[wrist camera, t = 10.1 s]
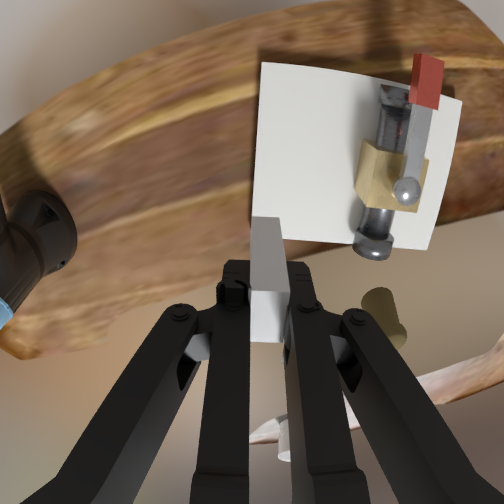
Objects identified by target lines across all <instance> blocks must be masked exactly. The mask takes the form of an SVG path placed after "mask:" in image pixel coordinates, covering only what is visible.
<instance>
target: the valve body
mask: <svg viewBox="0 0 504 504" xmlns="http://www.w3.org/2000/svg"><path fill="white" fill-rule="evenodd" d="M409 91H410V90H408V89H404V88H399V87H395V86H390V85H384V84H380V90H379V99H378V103H381V108H380V116H379V123H378V129H377V136H376V141H372V140H366V139H362V141H361V148H360V154H359V161H358V167H357V173H356V178H355V184H354V190H355V191H356V193H357V194H358V195H359V197H360V198H361V200H362V201H363V203H364V208H363V212H362V217H361V222H360V226H359V227H358V228H357V229H356V231H355V236H354V240H353V245H352V247H353V250H354V251H355V252H356V253H357V254H359V255H361V256H362V257H365V258H367V259H371V260H379V261H380V260H385V259H387V258H389V256H390V253H391V249H392V246H393V242H394V237H393V236H392V235H391V234H390V230H391V226H392V223H393V219H394V215H395V211H404V212H412V213H417V211H418V207H419V203H420V199H421V196H420V198H419V200H418V201H417V202H416V203H415V204H413V205H410V206H404V205H402V204H400V203H399V202H398V201H397V200H396V199H395V197H394V196H393V195H392V192H391V185H392V182H393V180H394V179H395V178H396V177H397V176H399V174H400V169H401V165H402V160H403V155H404V150H405V145H406V139H407V134H408V128H409V123H410V117H411V111H412V104H413V103H409V102H408V98H409ZM428 165H429V159H427V158H426V157H424V160H423V165H422V169H421V173H420V178H419V182H418V183H419V184H420V186H421V195H422V191H423V187H424V183H425V179H426V174H427V170H428Z"/></svg>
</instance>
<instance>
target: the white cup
mask: <svg viewBox="0 0 504 504" xmlns="http://www.w3.org/2000/svg"><path fill="white" fill-rule="evenodd" d="M278 458H279V459H281V460H283V461H291V460H290V443H289V427H288V419H285V420H283V421H282V422H281V423H280V432H279V445H278Z"/></svg>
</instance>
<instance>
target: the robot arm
mask: <svg viewBox="0 0 504 504" xmlns="http://www.w3.org/2000/svg"><path fill="white" fill-rule="evenodd" d="M76 247H77V233H76V228H75V225H74V222H73V220H72V218H71V216H70V214H69V212H68V211H67V209H66V208H65V207H64V205H63V204H62V203H61V202H60V201H59V200H58V199H56V198H55V197H54V196H52V195H50V194H49V193H46V192H43V191H39V190H33V191H29V192H27V193H25V194H23V195H22V196H21V197H19V198H18V199H17V200H16V201H15V202H14V203H13V204H12V206H11V208H10V209H9V211H8V213H7V214H5V210H4V207H3V203H2V199H1V195H0V329H1V328H2V327H3V326H4V325H5V324H6V323H7V321H8V320H9V319H11V318H12V317H13V314H14V313H15V312H16V310H17V309H18V308H19V306H20V305H21V304H22V302H23V301H24V300H25V298H26V297H27V296H28V294H29V293H30V292H31V291H32V289H33V288H34V287H35V286H36V284H37V283H38V282H39V281H40V280H41V278H43V277H45V276H47V275H49V274H51V273H53V272H55V271H58V270H60V269H61V268H63V267H64V266H65V265H66V264H67V263H68V262H69V261H70V259H71V258H72V257H73V255H74V253H75V251H76ZM216 298H217V303H216V305H214V306H213V307H211V308H209V309H205V310H201V311H197V310H196V309H195V308H194V307H193V306H191V305H188V304H182V303H180V304H174V305H172V306H170V307H168V308H167V309H166V310H165V311H164V312H163V314H162V315H161V317H160V318H159V320H158V321H157V322H156V324H155V326H154V327H153V328H152V330H151V331H150V333H149V334H148V335H147V337H146V338H145V340H144V341H143V343H142V345H141V346H140V347H139V349H138V350H137V352H136V353H135V354H134V356H133V358H132V359H131V360H130V362H129V364H128V365H127V366H126V368H125V369H124V371H123V372H122V374H121V375H120V377H119V378H118V380H117V381H116V383H115V384H114V386H113V387H112V389H111V390H110V392H109V393H108V395H107V396H106V398H105V400H104V401H103V403H102V404H101V406H100V407H99V409H98V410H97V412H96V413H95V415H94V417H93V418H92V419H91V421H90V423H89V424H88V426H87V427H86V429H85V430H84V432H83V434H82V435H81V437H80V438H79V440H78V441H77V443H76V445H75V446H74V448H73V450H72V451H71V453H70V454H69V456H68V457H67V459H66V461H65V462H64V464H63V466H62V467H61V469H60V470H59V472H58V474H57V475H56V477H55V478H53V479H52V480H51V481H49V482H48V483H47V484H45V485H44V486H43V487H42V488H40V489H39V490H38V491H36V492H35V493H33V494H32V495H31V496H30V497H28V498H27V499H25V500H24V501H23V502H21V503H20V504H133V501H134V499H135V497H136V495H137V493H138V491H139V489H140V487H141V485H142V483H143V481H144V479H145V477H146V475H147V473H148V471H149V469H150V467H151V465H152V463H153V461H154V459H155V457H156V455H157V453H158V450H159V448H160V446H161V444H162V442H163V440H164V438H165V436H166V434H167V432H168V430H169V428H170V426H171V424H172V422H173V420H174V418H175V416H176V414H177V412H178V409H179V407H180V405H181V403H182V401H183V399H184V397H185V395H186V393H187V391H188V389H189V387H190V385H191V383H192V381H193V379H194V377H195V375H196V372H197V371H198V369H199V366H200V364H201V361H202V360H207V359H209V364H208V372H207V380H206V388H205V396H204V404H203V412H202V421H201V429H200V438H199V447H198V456H197V465H196V470H195V472H194V474H193V478H192V484H191V493H190V504H249V402H250V400H249V399H250V397H249V396H250V342H283V338H284V341H285V344H284V350H283V356H282V362H281V363H284V369H285V382H286V396H287V412H288V427H289V443H290V460H291V477H292V504H371V503H370V497H369V491H368V486H367V480H366V476H365V474H364V472H363V471H362V470H360V469H358V467H357V465H356V461H355V456H354V450H353V444H352V439H351V434H350V428H349V423H348V418H347V413H346V408H345V403H344V398H343V393H342V391H343V392H344V395H345V396H346V398H347V400H348V402H349V404H350V406H351V408H352V410H353V412H354V414H355V416H356V418H357V420H358V422H359V424H360V426H361V428H362V430H363V432H364V434H365V436H366V438H367V440H368V442H369V444H370V446H371V448H372V450H373V451H374V454H375V456H376V458H377V460H378V462H379V464H380V466H381V468H382V470H383V472H384V474H385V476H386V478H387V480H388V482H389V484H390V486H391V488H392V490H393V492H394V494H395V496H396V498H397V500H398V502H399V504H504V495H503V494H502V493H500V492H499V491H498V490H497V489H496V488H494V487H493V486H492V485H491V484H489V483H488V482H487V481H486V480H485V479H483V478H482V477H481V476H480V475H479V474H477V473H476V471H475V470H474V468H473V467H472V465H471V463H470V461H469V460H468V458H467V456H466V455H465V453H464V451H463V450H462V448H461V447H460V445H459V443H458V442H457V440H456V439H455V437H454V435H453V434H452V432H451V431H450V429H449V427H448V426H447V424H446V423H445V421H444V420H443V418H442V416H441V415H440V414H439V412H438V410H437V409H436V407H435V406H434V404H433V403H432V401H431V400H430V398H429V397H428V395H427V394H426V392H425V391H424V389H423V388H422V386H421V385H420V383H419V382H418V380H417V379H416V377H415V376H414V374H413V373H412V372H411V370H410V368H409V367H408V366H407V364H406V363H405V361H404V360H403V358H402V357H401V356H400V354H399V353H398V351H397V350H396V348H395V347H394V346H393V344H392V343H391V341H390V340H389V339H388V337H387V336H386V334H385V333H384V332H383V330H382V329H381V327H380V326H379V325H378V323H377V322H376V321H375V319H374V318H373V316H372V315H371V314H370V313H368V312H367V311H365V310H362V309H358V308H351V309H348V310H346V311H345V312H344V313H343V315H338V314H334V313H331V312H328V311H326V310H324V309H323V306H322V304H321V303H320V302H319V301H318V300H317V299H316V294H315V290H314V286H313V282H312V277H311V273H310V270H309V267H308V266H307V265H306V264H305V263H304V262H296V261H286V258H285V252H284V245H283V238H282V232H281V225H280V219H279V217H260V216H252V219H251V240H250V260H230V259H229V260H228V261H227V263H226V264H225V265H224V269H223V276H222V281H220V282H219V283H218V285H217V287H216Z"/></svg>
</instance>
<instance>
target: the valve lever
mask: <svg viewBox="0 0 504 504" xmlns="http://www.w3.org/2000/svg"><path fill="white" fill-rule="evenodd" d="M443 71H444V61H442V60H439V59H436V58H433V57H430V56H427V55H424V54H414V58H413V67H412V76H411V83H410V91H409V98H408V102H409V103H413V104H412V111H411V117H410V123H409V128H408V134H407V139H406V145H405V150H404V155H403V160H402V165H401V169H400V174H399V176H397V177H396V178H395V179H394V180H393V182H392V185H391V192H392V195H393V196H394V197H395V199H396V200H397V201H398V202H399V203H400V204H402V205H404V206H410V205H413V204H415V203H416V202H417V201H418V200H419V198H420V196H421V186H420V184H419V183H418V182H419V178H420V173H421V169H422V165H423V160H424V156H425V151H426V146H427V141H428V136H429V131H430V125H431V119H432V113H433V109H434V110H438V108H439V101H440V94H441V87H442V80H443Z"/></svg>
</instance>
